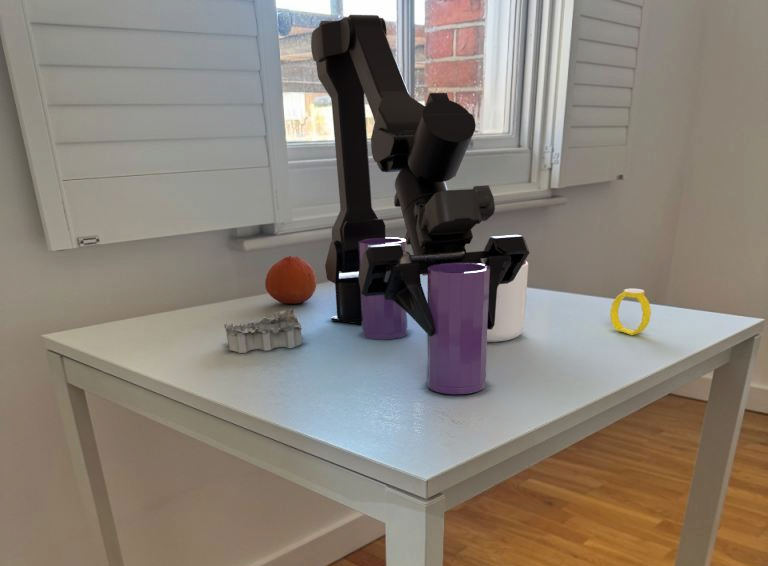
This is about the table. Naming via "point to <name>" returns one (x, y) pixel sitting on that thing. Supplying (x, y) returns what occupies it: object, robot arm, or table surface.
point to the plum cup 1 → (381, 304)
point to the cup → (510, 308)
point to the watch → (644, 304)
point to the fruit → (291, 281)
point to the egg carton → (265, 333)
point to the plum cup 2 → (458, 327)
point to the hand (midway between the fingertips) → (462, 330)
